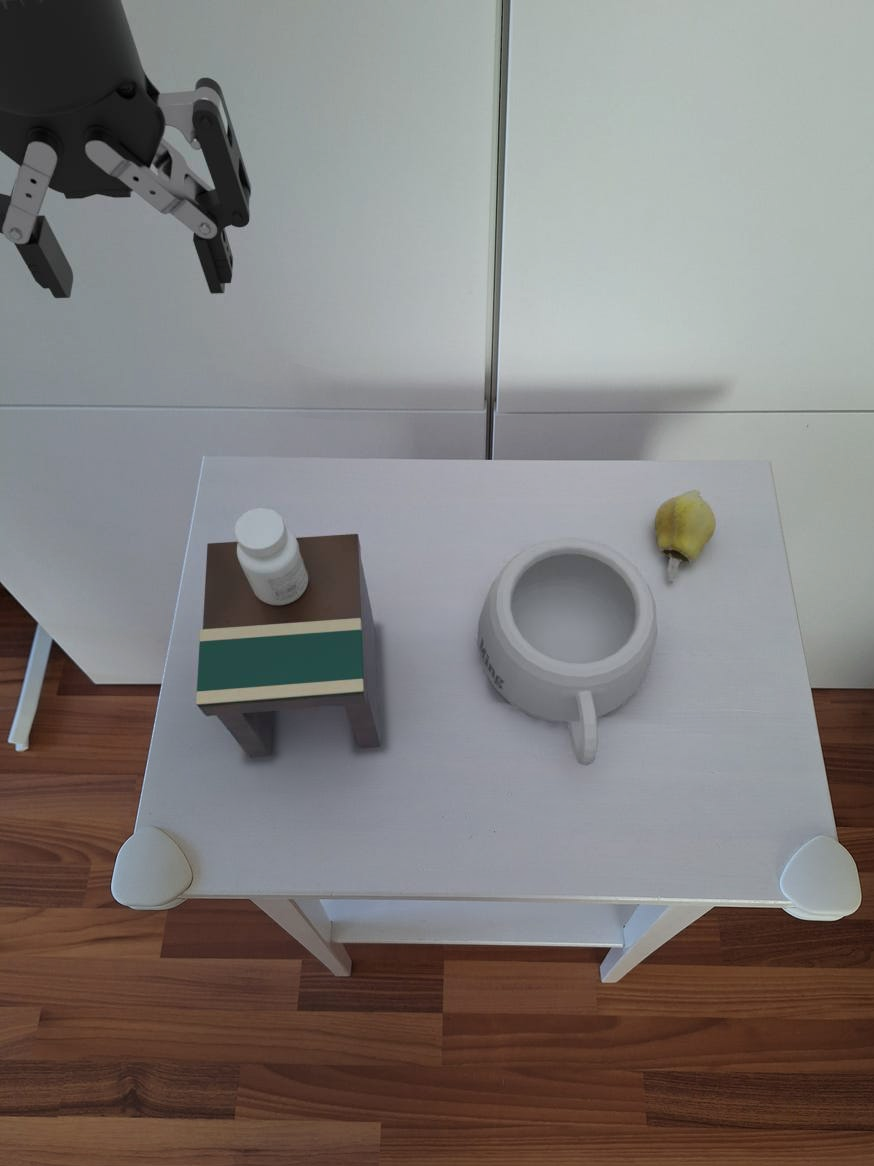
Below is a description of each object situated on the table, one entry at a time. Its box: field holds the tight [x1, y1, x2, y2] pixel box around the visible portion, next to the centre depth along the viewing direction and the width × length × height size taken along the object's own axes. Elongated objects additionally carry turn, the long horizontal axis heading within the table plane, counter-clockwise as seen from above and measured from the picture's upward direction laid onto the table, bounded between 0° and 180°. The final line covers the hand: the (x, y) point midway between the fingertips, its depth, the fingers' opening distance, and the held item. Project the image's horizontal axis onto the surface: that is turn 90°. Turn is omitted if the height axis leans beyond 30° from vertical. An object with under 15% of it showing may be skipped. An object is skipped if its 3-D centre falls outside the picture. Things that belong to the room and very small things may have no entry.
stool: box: [198, 533, 382, 758], centre depth 68 cm, size 12×14×16 cm
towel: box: [195, 618, 364, 708], centre depth 59 cm, size 12×6×1 cm, turn 96°
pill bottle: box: [234, 507, 308, 605], centre depth 59 cm, size 4×4×8 cm
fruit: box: [653, 489, 717, 584], centre depth 81 cm, size 6×6×10 cm
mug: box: [476, 536, 658, 767], centre depth 72 cm, size 21×17×10 cm
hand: (143, 285), depth 45 cm, fingers open, 8 cm apart
